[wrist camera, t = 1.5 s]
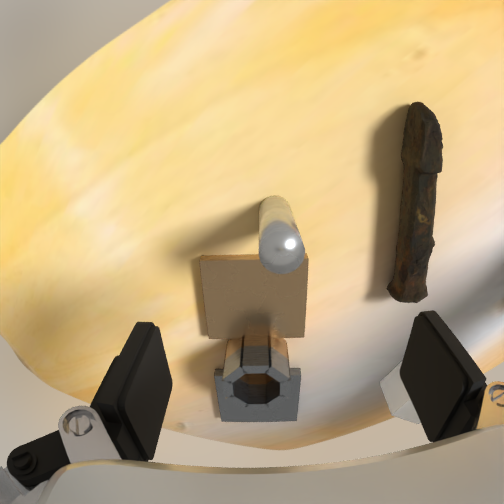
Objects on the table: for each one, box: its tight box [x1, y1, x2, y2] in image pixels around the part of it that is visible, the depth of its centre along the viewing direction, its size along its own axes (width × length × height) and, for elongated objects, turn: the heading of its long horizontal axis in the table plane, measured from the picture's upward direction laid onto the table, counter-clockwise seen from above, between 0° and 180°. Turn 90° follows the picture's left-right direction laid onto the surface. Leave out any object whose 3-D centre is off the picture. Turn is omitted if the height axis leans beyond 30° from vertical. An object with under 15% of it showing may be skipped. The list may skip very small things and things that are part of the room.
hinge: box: [200, 253, 308, 422], centre depth 32 cm, size 10×24×6 cm, turn 2°
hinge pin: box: [259, 196, 305, 274], centre depth 24 cm, size 3×3×10 cm
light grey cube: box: [379, 360, 420, 424], centre depth 34 cm, size 6×6×6 cm
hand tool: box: [387, 102, 443, 303], centre depth 26 cm, size 19×4×5 cm, turn 1°
